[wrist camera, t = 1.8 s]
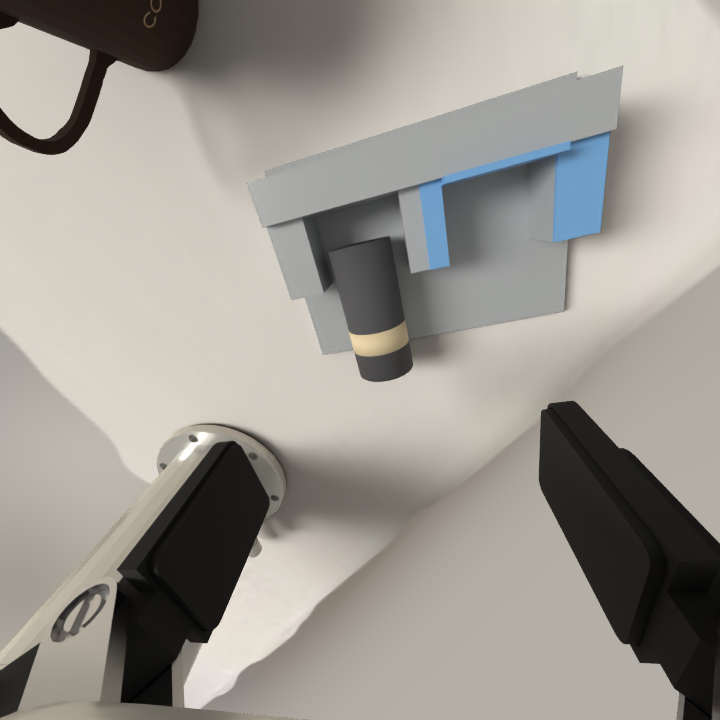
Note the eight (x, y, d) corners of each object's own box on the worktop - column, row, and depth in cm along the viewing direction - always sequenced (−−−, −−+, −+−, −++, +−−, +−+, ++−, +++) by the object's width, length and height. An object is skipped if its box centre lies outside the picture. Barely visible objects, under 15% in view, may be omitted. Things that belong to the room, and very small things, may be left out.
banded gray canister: (412, 352, 21) (413, 377, 18) (363, 360, 22) (356, 385, 19) (391, 234, 18) (388, 238, 15) (335, 248, 19) (320, 255, 15)
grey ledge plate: (559, 308, 19) (606, 335, 15) (324, 351, 22) (309, 383, 18) (570, 76, 14) (645, 18, 10) (268, 172, 18) (228, 158, 13)
